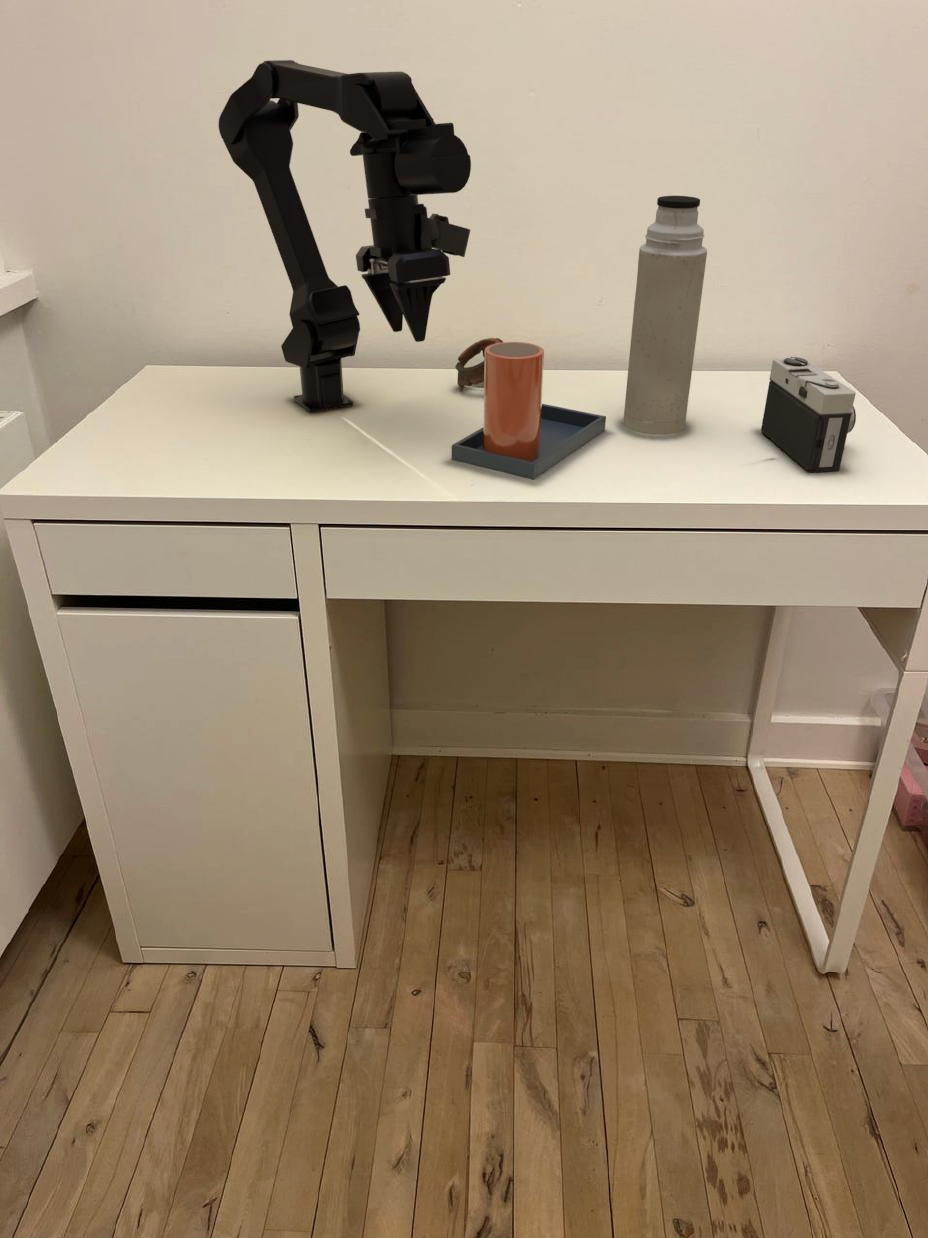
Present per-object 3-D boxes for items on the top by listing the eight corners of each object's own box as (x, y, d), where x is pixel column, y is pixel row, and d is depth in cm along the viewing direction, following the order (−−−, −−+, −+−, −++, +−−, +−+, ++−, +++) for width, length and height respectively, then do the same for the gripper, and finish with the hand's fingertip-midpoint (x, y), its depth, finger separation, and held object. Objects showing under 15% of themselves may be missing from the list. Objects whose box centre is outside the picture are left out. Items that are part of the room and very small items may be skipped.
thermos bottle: (632, 413, 133) (654, 190, 118) (691, 422, 130) (720, 194, 115) (615, 432, 127) (636, 198, 112) (675, 441, 124) (705, 203, 109)
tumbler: (476, 447, 120) (478, 343, 114) (529, 443, 122) (533, 339, 115) (491, 468, 115) (493, 359, 108) (546, 463, 116) (552, 355, 109)
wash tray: (528, 417, 131) (529, 400, 130) (604, 433, 126) (606, 416, 125) (451, 463, 117) (451, 445, 116) (533, 483, 112) (534, 464, 111)
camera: (871, 469, 116) (890, 387, 111) (806, 473, 115) (822, 390, 110) (817, 428, 128) (832, 352, 123) (757, 431, 127) (770, 355, 122)
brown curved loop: (531, 404, 137) (505, 357, 132) (472, 428, 141) (444, 383, 136) (533, 358, 146) (509, 312, 141) (477, 382, 149) (451, 338, 144)
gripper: (487, 189, 106) (498, 336, 113) (433, 189, 122) (445, 317, 129) (389, 200, 103) (406, 351, 110) (347, 198, 119) (364, 330, 126)
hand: (408, 336), depth 119 cm, fingers open, 9 cm apart
